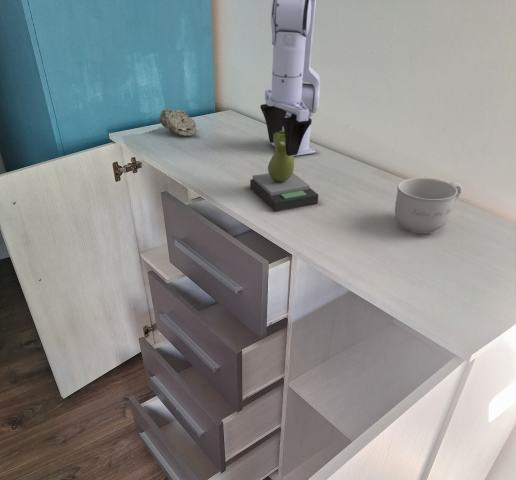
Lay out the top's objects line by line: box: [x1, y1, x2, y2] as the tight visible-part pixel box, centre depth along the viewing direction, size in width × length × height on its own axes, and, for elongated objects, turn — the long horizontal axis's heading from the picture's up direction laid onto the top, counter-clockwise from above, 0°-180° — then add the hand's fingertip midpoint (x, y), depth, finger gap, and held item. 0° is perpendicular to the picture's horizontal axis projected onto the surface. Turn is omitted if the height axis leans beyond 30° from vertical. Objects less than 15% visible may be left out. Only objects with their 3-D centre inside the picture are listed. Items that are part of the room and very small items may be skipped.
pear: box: [267, 130, 295, 182], centre depth 103 cm, size 6×5×10 cm
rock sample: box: [157, 107, 199, 137], centre depth 134 cm, size 10×8×9 cm
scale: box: [249, 172, 319, 212], centre depth 106 cm, size 12×10×3 cm
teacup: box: [394, 177, 462, 234], centre depth 96 cm, size 14×11×8 cm
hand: (283, 148), depth 102 cm, fingers open, 7 cm apart
